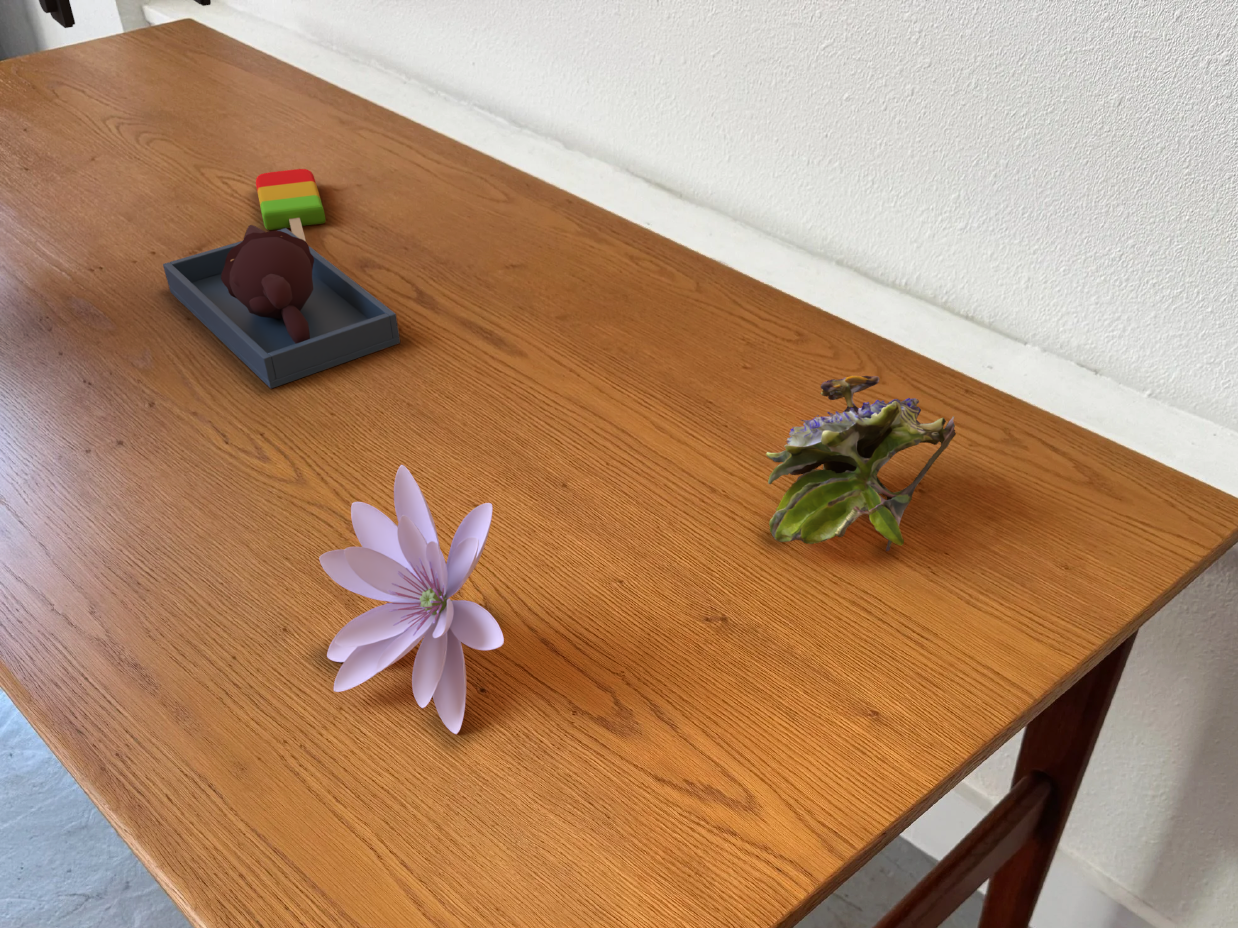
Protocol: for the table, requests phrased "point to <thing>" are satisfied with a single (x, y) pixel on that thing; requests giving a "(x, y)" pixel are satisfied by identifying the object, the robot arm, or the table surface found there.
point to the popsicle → (289, 200)
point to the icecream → (272, 277)
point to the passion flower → (850, 465)
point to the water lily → (412, 599)
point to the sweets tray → (333, 311)
